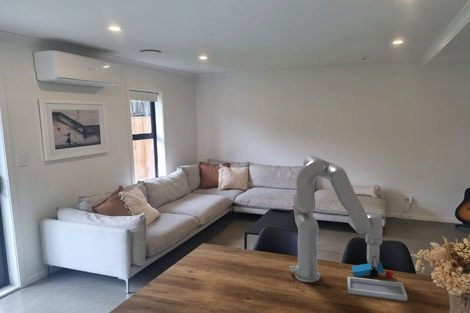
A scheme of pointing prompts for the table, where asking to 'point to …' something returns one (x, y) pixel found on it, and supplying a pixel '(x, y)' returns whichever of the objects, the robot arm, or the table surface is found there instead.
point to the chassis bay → (376, 289)
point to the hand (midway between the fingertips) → (373, 273)
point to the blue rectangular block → (365, 270)
